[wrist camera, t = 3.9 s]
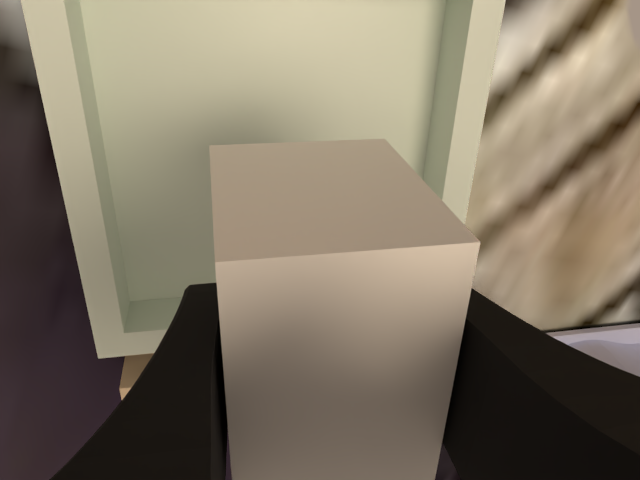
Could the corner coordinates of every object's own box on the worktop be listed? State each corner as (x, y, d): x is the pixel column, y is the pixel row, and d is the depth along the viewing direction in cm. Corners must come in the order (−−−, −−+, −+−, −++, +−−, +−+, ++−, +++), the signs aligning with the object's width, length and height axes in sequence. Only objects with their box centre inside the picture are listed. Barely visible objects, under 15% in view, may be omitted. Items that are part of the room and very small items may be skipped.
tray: (475, -52, 17) (514, -50, 15) (424, 288, 24) (446, 324, 21) (34, -68, 15) (6, -68, 13) (108, 315, 21) (98, 358, 19)
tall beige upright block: (384, 138, 13) (480, 242, 8) (363, 386, 16) (422, 546, 12) (208, 145, 12) (214, 262, 8) (228, 403, 16) (239, 579, 11)
